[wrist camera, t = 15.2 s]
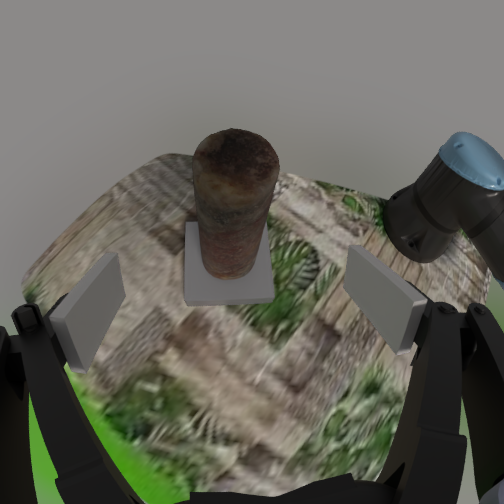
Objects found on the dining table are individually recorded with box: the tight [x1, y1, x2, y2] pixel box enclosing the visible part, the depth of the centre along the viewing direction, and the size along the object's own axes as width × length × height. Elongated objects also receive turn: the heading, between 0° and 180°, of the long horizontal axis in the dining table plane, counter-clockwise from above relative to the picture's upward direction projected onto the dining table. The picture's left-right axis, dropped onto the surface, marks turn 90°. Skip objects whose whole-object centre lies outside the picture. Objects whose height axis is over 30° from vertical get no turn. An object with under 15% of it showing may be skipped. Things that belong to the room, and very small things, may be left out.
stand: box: [184, 222, 275, 306], centre depth 41 cm, size 12×12×3 cm
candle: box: [192, 128, 280, 280], centre depth 30 cm, size 8×7×20 cm
